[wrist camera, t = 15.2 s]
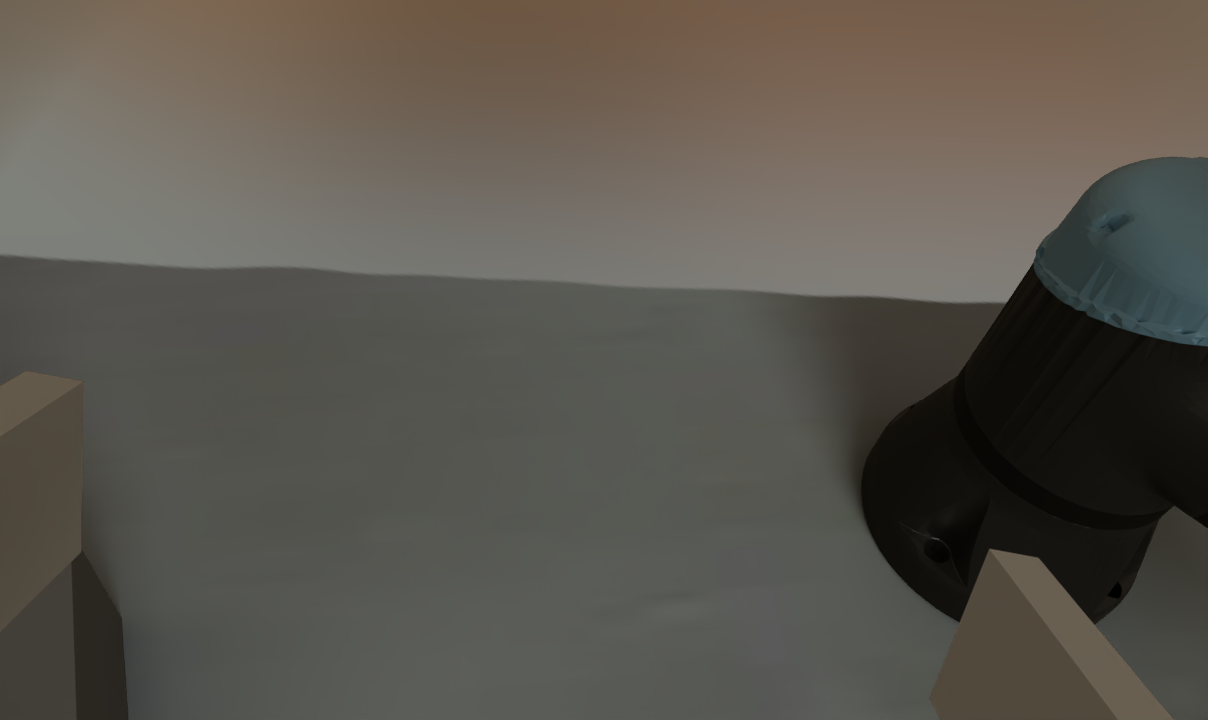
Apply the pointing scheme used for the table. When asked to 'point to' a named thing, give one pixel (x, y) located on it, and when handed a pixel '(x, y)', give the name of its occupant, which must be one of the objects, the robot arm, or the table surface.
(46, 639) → the stand
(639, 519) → the table surface
